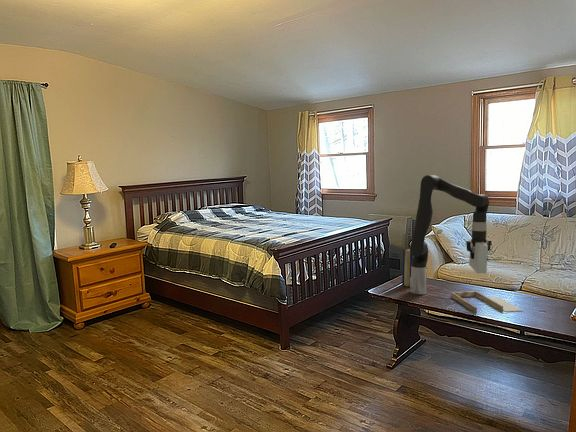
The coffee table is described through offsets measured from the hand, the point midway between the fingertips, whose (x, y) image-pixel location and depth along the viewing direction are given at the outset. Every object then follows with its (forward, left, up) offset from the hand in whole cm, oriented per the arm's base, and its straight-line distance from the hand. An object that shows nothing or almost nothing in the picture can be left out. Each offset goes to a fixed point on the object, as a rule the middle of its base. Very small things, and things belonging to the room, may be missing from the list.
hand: (478, 258), depth 249 cm
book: (-19, +48, -27) cm, 59 cm away
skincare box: (0, 0, -6) cm, 6 cm away
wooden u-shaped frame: (0, +1, -27) cm, 27 cm away
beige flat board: (+14, -2, -27) cm, 31 cm away
